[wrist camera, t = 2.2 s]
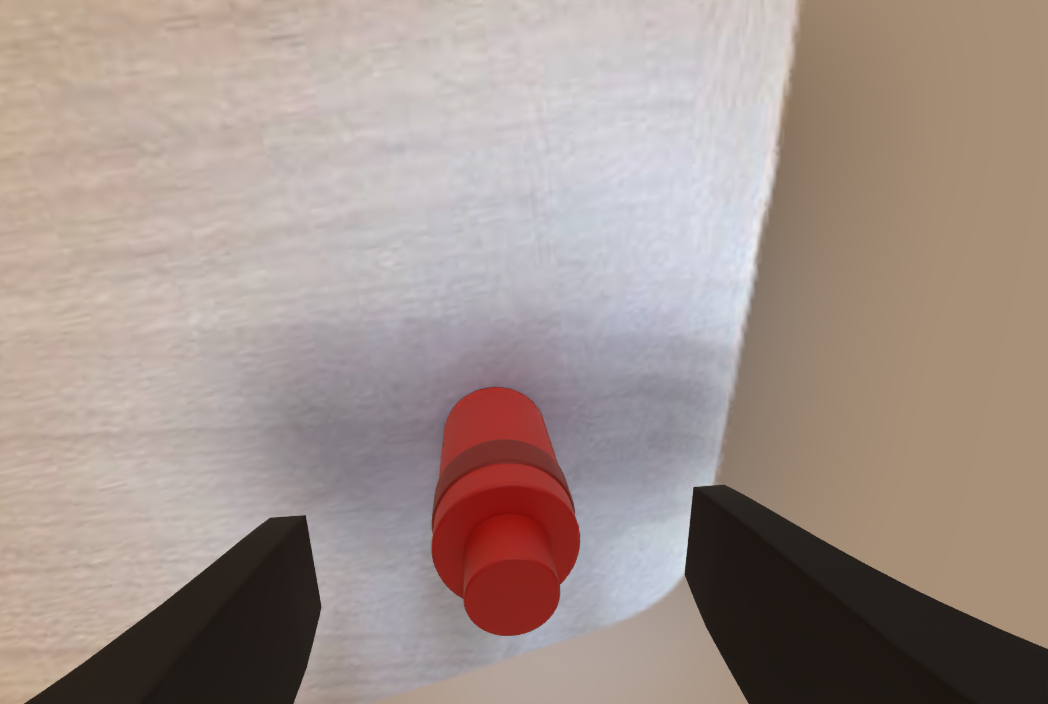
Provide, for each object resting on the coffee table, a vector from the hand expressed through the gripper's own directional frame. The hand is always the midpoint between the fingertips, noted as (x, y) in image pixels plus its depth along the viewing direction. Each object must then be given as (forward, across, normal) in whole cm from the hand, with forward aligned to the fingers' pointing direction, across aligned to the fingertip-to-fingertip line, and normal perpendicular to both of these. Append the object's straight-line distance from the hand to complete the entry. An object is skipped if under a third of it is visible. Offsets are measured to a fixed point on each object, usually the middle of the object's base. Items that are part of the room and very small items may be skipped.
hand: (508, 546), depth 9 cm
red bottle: (+5, 0, 0) cm, 5 cm away
